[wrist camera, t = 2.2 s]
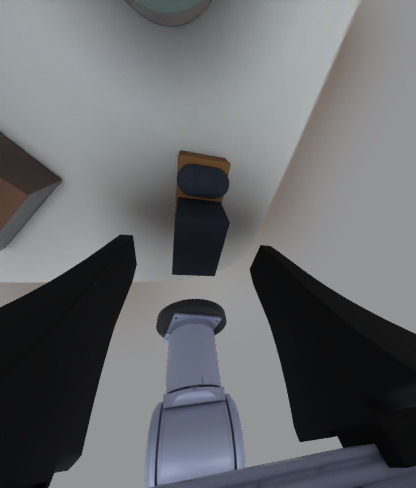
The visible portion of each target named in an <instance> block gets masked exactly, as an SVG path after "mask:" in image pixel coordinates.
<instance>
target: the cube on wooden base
mask: <svg viewBox="0 0 416 488" xmlns="http://www.w3.org/2000/svg"><path fill="white" fill-rule="evenodd" d="M229 169H230V163H229V162H228V161H227V160H226V159H225V158H219V157H214V156H208V155H202V154H197V153H191V152H185V151H180V152H179V156H178V173H177V192H176V210H175V229H174V249H173V268H172V274H173V275H198V276H215V273H216V270H217V266H218V262H219V259H220V255H221V252H222V248H223V245H224V241H225V238H226V234H227V230H228V227H229V220H228V218H227V216H226V213H225V211H224V209H223V207H222V199H223V196H224V195H225V194H226V192H227V191H228V188H229V179H228V173H229Z"/></svg>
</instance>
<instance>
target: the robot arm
mask: <svg viewBox="0 0 416 488" xmlns="http://www.w3.org/2000/svg"><path fill="white" fill-rule="evenodd" d="M136 265H137V263H136V255H135V247H134V240H133V236H132V235H119V236H118V237H116V238H115V239H113V240H112V241H111V242H109V243H108V244H106V245H105V246H104V247H102V248H101V249H100V250H98V251H97V252H95V253H94V254H92V255H91V256H90V257H88V258H87V259H85V260H84V261H82V262H81V263H79V264H77V265H76V266H74V267H73V268H71V269H70V270H68V271H67V272H65V273H63V274H62V275H60V276H58V277H57V278H55V279H53V280H52V281H50V282H48V283H46V284H45V285H43V286H41V287H39V288H37V289H35V290H34V291H32V292H30V293H28V294H26V295H24V296H23V297H20V298H19V299H16V300H14V301H13V302H10V303H8V304H6V305H4V306H2V307H0V488H48V487H49V485H50V482H51V480H52V477H53V475H54V473H56V472H62V471H67V470H69V469H70V468H71V467H72V466H73V465H74V463H75V462H76V461H77V460H78V459H79V457H80V456H81V455H82V450H83V446H84V441H85V437H86V433H87V429H88V424H89V420H90V416H91V412H92V407H93V403H94V399H95V396H96V392H97V388H98V384H99V380H100V376H101V372H102V368H103V365H104V361H105V358H106V354H107V350H108V347H109V343H110V340H111V337H112V333H113V330H114V327H115V324H116V321H117V319H118V316H119V314H120V311H121V309H122V306H123V304H124V301H125V299H126V296H127V294H128V291H129V288H130V286H131V284H132V281H133V277H134V273H135V269H136ZM250 273H251V277H252V281H253V284H254V287H255V290H256V292H257V295H258V297H259V299H260V302H261V304H262V307H263V309H264V311H265V314H266V316H267V319H268V321H269V324H270V327H271V331H272V334H273V337H274V340H275V344H276V347H277V351H278V354H279V358H280V362H281V366H282V371H283V375H284V379H285V383H286V388H287V393H288V398H289V402H290V408H291V413H292V418H293V424H294V428H295V431H296V434H297V436H298V439H299V441H300V442H304V441H310V440H317V439H323V438H330V437H335V436H338V438H339V440H340V442H341V444H342V446H343V448H341V449H336V450H331V451H326V452H321V453H316V454H311V455H307V456H301V457H296V458H292V459H287V460H282V461H277V462H272V463H267V464H262V465H257V466H252V467H247V468H245V454H244V453H245V452H244V442H243V435H242V429H241V423H240V419H239V414H238V410H237V407H236V404H235V402H234V400H233V399H232V398H231V397H230V395H229V394H225V392H224V387H221V383H220V375H219V368H218V360H217V352H216V346H215V338H214V329H215V328H216V326H217V325H218V323H219V322H220V321H221V317H220V316H212V315H200V314H189V313H174V315H173V317H172V320H171V322H170V325H169V327H168V330H167V332H166V334H165V337H164V342H169V346H168V359H167V371H166V386H167V389H166V394H164V397H163V398H164V399H163V402H160V403H159V404H158V405H157V407H156V408H155V410H154V411H153V413H152V417H151V421H150V427H149V433H148V440H147V449H146V459H145V488H416V334H415V333H412V332H410V331H408V330H406V329H404V328H402V327H400V326H398V325H396V324H394V323H391V322H389V321H387V320H385V319H383V318H381V317H379V316H377V315H375V314H373V313H372V312H370V311H368V310H366V309H364V308H362V307H361V306H359V305H357V304H355V303H353V302H352V301H350V300H348V299H346V298H345V297H343V296H341V295H340V294H338V293H336V292H335V291H333V290H332V289H330V288H328V287H327V286H325V285H324V284H322V283H321V282H319V281H318V280H316V279H315V278H314V277H312V276H311V275H309V274H308V273H306V272H305V271H304V270H302V269H301V268H300V267H298V266H297V265H296V264H294V263H293V262H292V261H290V260H289V259H288V258H286V257H285V256H284V255H282V254H281V253H280V252H278V251H277V250H275V249H274V248H272V247H271V246H264V245H261V246H260V248H259V250H258V252H257V254H256V257H255V259H254V261H253V263H252V266H251V268H250Z"/></svg>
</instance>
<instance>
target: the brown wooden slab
mask: <svg viewBox="0 0 416 488" xmlns="http://www.w3.org/2000/svg"><path fill="white" fill-rule="evenodd" d="M60 182H61V179H60V178H59V177H57V176H56V175H55V174H54V173H52V172H51V171H50V170H48V169H47V168H46V167H44V166H43V165H42V164H40V163H39V162H38V161H36V160H35V159H34V158H33V157H31V156H30V155H29V154H27V153H26V152H25V151H23V150H22V149H21V148H19V147H18V146H17V145H15V144H14V143H13V142H12V141H10V140H9V139H8V138H6V137H5V136H4V135H2V134H1V133H0V251H1V250H2V249H4V248H5V247H6V246H7V245H8V244H9V242H10V241H11V240H12V239H13V238H14V236H15V235H16V234H17V233H18V232H19V230H20V229H21V228H22V227H23V226H24V225H25V223H26V222H27V221H28V220H29V219H30V217H31V216H32V215H33V214H34V213H35V211H36V210H37V209H38V208H39V207H40V206H41V204H42V203H43V202H44V201H45V200H46V198H47V197H48V196H49V195H50V194H51V192H52V191H53V190H54V189H55V188H56V187H57V185H58V184H59V183H60Z"/></svg>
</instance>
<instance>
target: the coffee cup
mask: <svg viewBox="0 0 416 488" xmlns="http://www.w3.org/2000/svg"><path fill="white" fill-rule="evenodd" d="M126 2H127V3H128V4H129V5H130V6H131V7H132V8H133V9H134V10H136V11H137V12H138V13H139V14H141V15H142V16H143V17H145V18H146V19H148V20H150V21H152V22H154V23H157V24H160V25H164V26H179V25H183V24H186V23H188V22H190V21H192V20H194V19H195V18H196V17H198V16H199V15H200V14H201V13H202V12H203V11H204V10H205V9H206V7H207V6H208V5H209V3H210V2H211V0H126Z"/></svg>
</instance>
